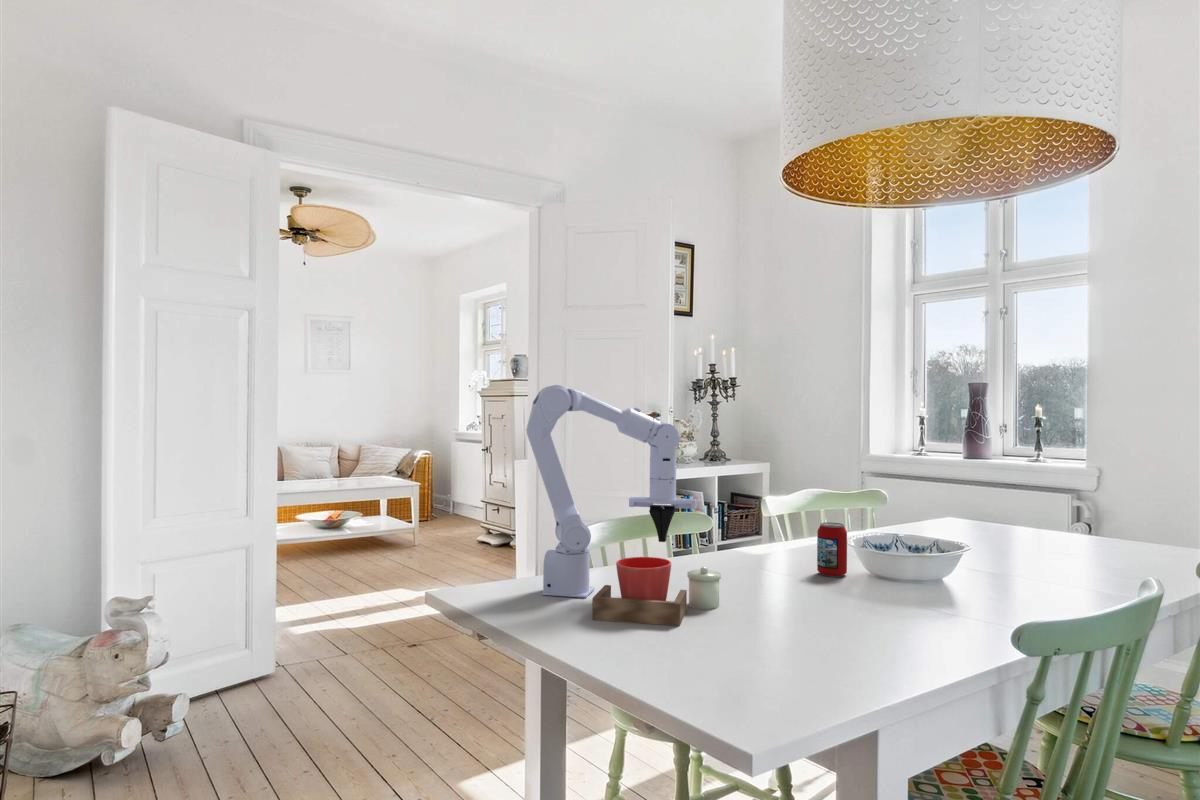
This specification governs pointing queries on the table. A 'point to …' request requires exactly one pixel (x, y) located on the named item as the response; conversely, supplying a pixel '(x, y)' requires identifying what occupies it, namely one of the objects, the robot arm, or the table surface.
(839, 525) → the beverage can
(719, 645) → the table surface
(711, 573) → the green jar
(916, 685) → the table surface
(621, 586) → the flower pot
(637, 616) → the wooden tray
